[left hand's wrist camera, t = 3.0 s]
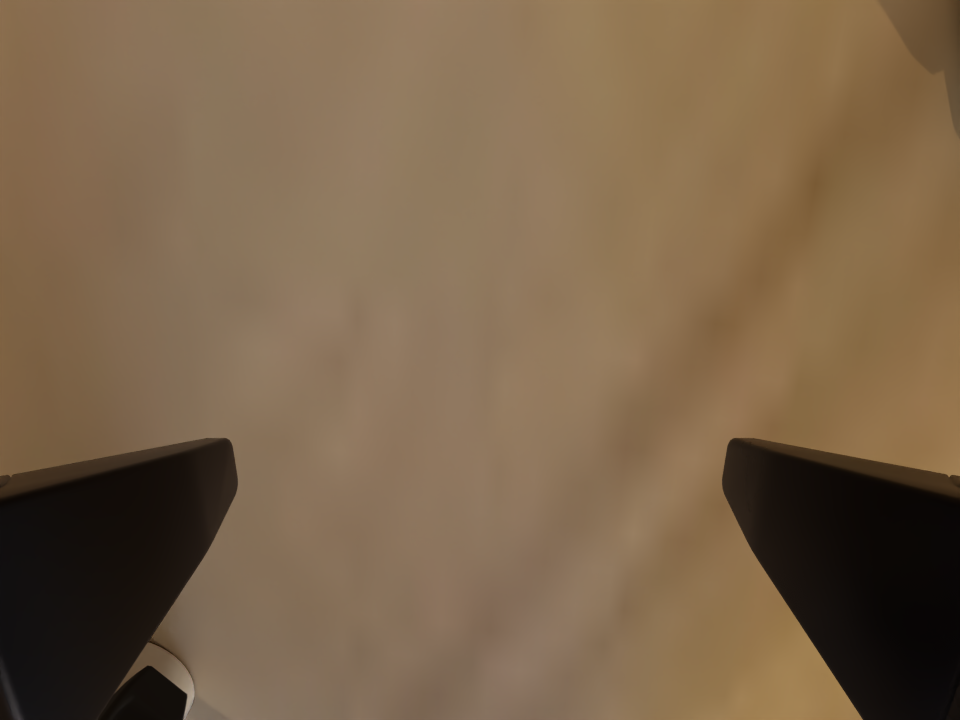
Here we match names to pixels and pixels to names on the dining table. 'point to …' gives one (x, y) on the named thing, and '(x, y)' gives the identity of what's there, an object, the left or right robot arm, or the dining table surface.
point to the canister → (164, 670)
